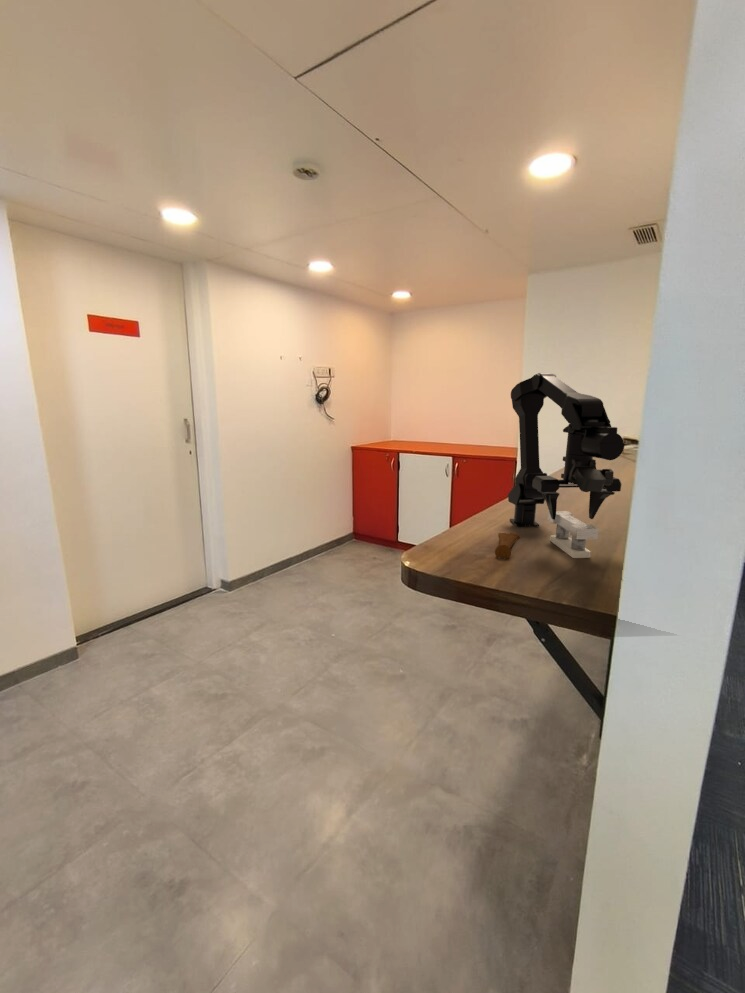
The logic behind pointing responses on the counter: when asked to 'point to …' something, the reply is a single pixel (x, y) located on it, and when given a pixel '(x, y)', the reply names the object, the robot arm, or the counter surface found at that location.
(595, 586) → the counter surface
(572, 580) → the counter surface
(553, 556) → the counter surface
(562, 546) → the peg rack
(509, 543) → the primitive tool
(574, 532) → the spanner
